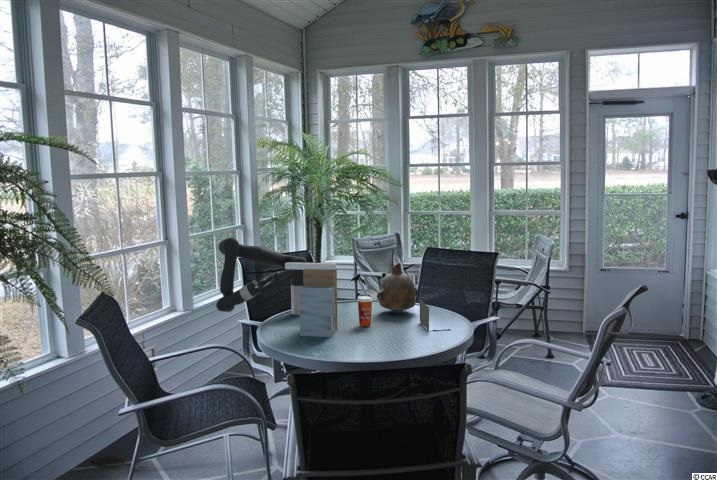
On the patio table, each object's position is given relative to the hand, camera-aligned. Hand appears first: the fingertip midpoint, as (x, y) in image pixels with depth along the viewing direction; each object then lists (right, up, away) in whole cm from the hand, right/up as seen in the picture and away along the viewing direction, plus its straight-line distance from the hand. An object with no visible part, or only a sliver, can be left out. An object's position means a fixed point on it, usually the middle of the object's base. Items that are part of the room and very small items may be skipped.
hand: (275, 275), depth 297 cm
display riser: (+23, -29, -5) cm, 37 cm away
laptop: (+84, -28, +5) cm, 88 cm away
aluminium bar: (+18, +4, -4) cm, 19 cm away
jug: (+65, -24, +35) cm, 78 cm away
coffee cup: (+47, -27, +9) cm, 55 cm away
